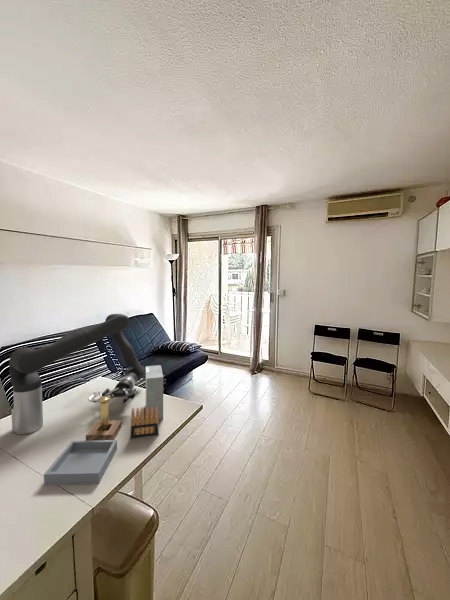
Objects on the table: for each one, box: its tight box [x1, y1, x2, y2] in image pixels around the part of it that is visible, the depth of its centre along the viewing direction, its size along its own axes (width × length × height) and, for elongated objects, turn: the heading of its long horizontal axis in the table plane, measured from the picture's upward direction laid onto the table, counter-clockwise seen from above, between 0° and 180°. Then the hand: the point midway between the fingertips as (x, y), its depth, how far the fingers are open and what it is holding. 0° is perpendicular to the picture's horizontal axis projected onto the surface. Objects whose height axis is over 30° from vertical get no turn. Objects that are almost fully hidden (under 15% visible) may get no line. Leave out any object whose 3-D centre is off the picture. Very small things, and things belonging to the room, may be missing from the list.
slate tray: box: [43, 439, 118, 486], centre depth 86 cm, size 16×16×4 cm
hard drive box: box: [144, 364, 164, 421], centre depth 120 cm, size 16×8×20 cm, turn 18°
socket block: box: [85, 419, 123, 441], centre depth 103 cm, size 10×10×3 cm
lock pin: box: [98, 395, 111, 431], centre depth 102 cm, size 4×4×15 cm
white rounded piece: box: [88, 388, 102, 402], centre depth 133 cm, size 9×8×4 cm
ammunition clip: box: [129, 406, 159, 439], centre depth 103 cm, size 11×2×12 cm, turn 104°
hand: (113, 401), depth 113 cm, fingers open, 8 cm apart
